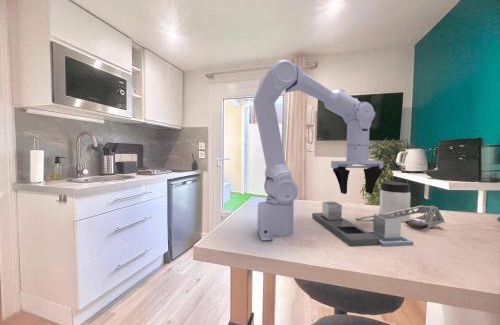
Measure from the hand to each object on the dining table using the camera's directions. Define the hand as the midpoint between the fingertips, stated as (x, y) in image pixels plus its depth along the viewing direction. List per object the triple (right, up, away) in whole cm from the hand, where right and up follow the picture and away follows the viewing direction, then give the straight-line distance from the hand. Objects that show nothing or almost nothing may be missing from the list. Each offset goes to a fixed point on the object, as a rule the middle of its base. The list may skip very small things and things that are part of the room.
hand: (356, 193), depth 64 cm
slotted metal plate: (-6, -11, -3) cm, 12 cm away
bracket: (+14, -11, +4) cm, 18 cm away
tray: (+3, -11, -10) cm, 15 cm away
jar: (+18, -10, +11) cm, 23 cm away
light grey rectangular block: (+3, -10, -10) cm, 14 cm away
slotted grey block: (-6, -9, +2) cm, 11 cm away
